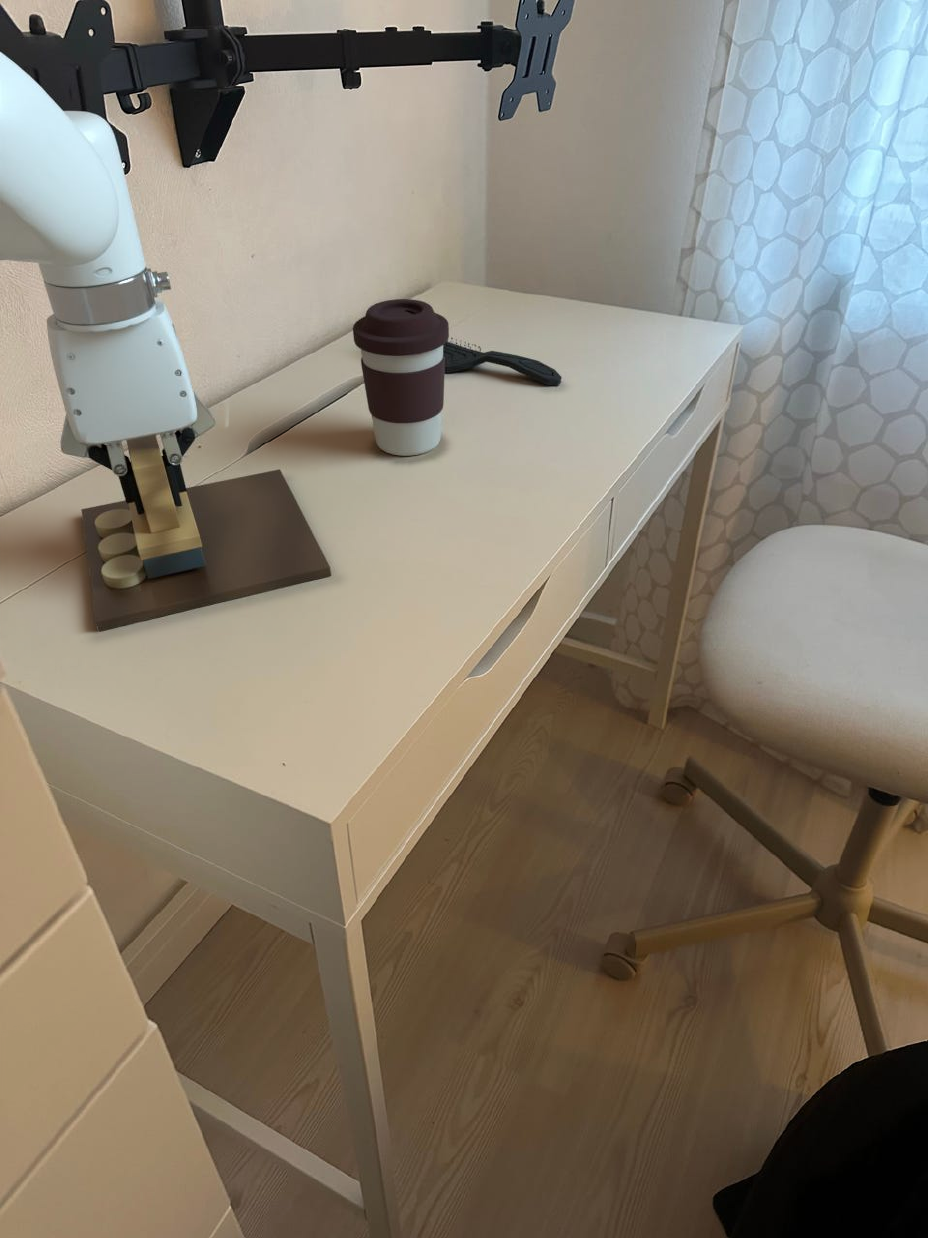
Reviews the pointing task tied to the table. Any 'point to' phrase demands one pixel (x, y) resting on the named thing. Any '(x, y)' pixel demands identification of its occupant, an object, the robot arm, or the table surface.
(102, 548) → the disc
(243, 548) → the tray
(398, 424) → the coffee cup
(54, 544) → the table surface
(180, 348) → the robot arm
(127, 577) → the token
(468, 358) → the hairbrush
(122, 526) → the token
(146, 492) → the brush
